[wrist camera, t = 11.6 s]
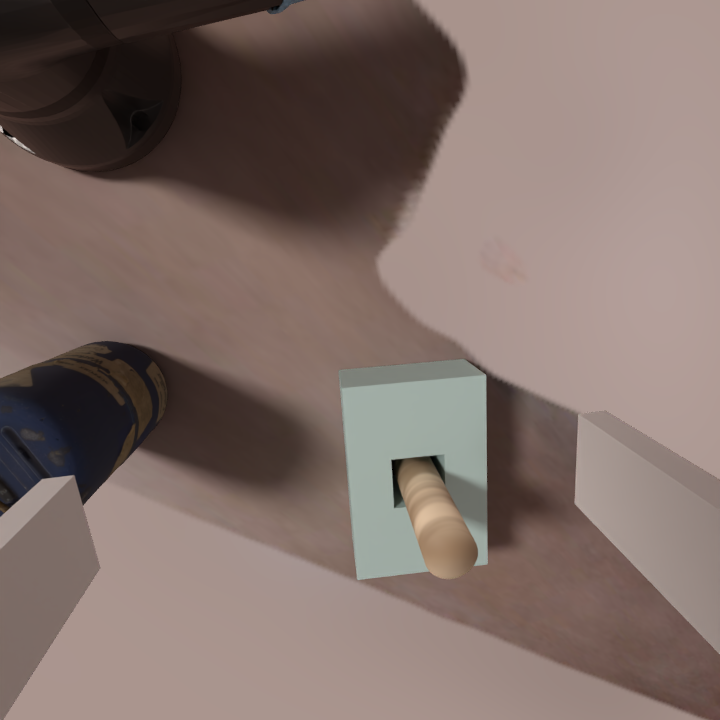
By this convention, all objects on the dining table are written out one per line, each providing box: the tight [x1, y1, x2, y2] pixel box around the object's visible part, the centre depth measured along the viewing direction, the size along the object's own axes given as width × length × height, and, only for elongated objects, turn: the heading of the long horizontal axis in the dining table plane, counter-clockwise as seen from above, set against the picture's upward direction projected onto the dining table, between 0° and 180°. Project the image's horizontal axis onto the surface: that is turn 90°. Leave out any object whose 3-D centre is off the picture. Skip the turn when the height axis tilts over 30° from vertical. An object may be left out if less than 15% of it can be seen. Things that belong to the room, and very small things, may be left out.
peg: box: [391, 456, 478, 579], centre depth 38 cm, size 4×4×16 cm
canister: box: [0, 341, 167, 517], centre depth 33 cm, size 10×10×18 cm
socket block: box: [339, 359, 488, 580], centre depth 43 cm, size 18×12×6 cm, turn 4°
